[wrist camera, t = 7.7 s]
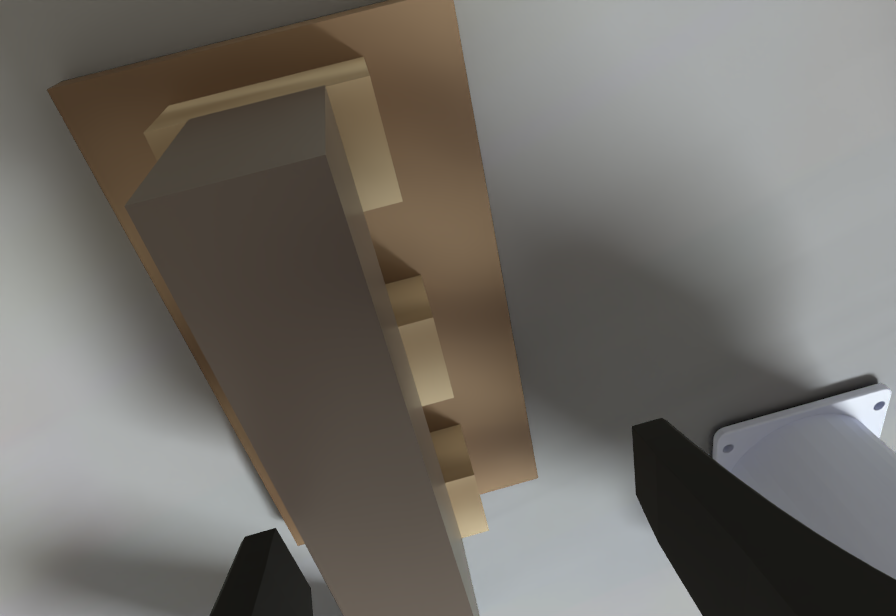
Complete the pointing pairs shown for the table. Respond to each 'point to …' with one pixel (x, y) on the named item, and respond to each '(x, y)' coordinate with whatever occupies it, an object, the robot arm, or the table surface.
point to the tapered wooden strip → (308, 346)
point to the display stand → (381, 196)
